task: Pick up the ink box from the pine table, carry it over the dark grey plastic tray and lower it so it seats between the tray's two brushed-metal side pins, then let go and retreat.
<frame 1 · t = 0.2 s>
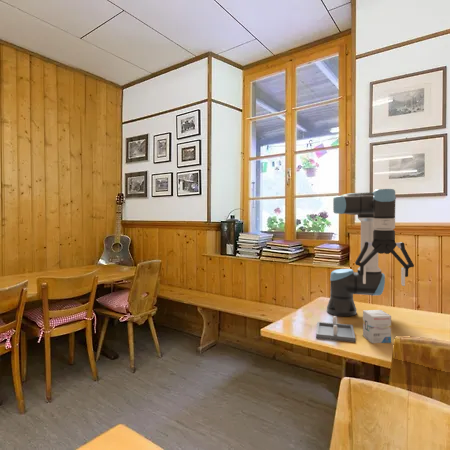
hand: (383, 284, 124), 27 cm above the table, fingers open, 13 cm apart
ink box: (376, 339, 139), on the table
tray: (335, 333, 146), on the table
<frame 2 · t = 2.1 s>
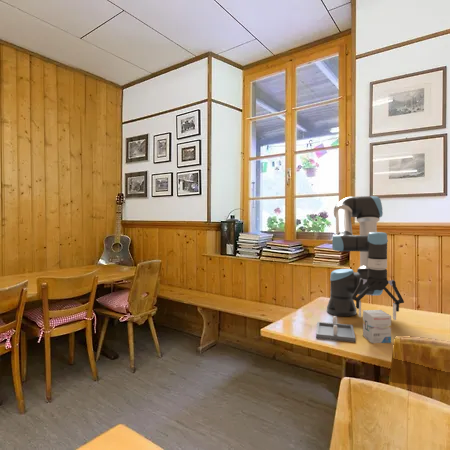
hand: (376, 317, 138), 10 cm above the table, fingers open, 13 cm apart
nothing on the table moved.
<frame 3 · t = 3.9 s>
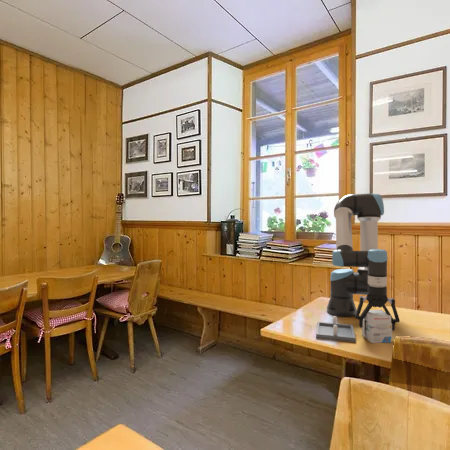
hand: (376, 336, 139), 1 cm above the table, fingers closed on ink box, 10 cm apart
ink box: (376, 339, 139), on the table, touching gripper
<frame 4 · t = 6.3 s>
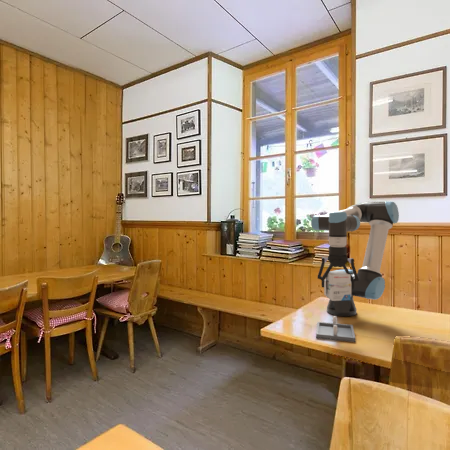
hand: (337, 295, 145), 18 cm above the table, fingers closed on ink box, 10 cm apart
ink box: (337, 298, 145), point 16 cm above the table, touching gripper
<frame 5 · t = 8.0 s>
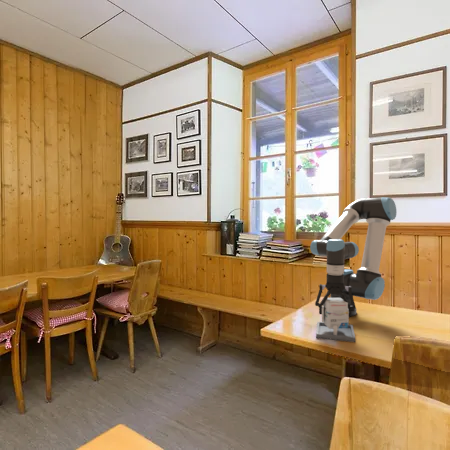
hand: (334, 322, 146), 5 cm above the table, fingers closed on ink box, 10 cm apart
ink box: (334, 325, 146), point 4 cm above the table, touching gripper
when the fingers open (4 cm above the table, at t = 9.1 s): ink box drops 2 cm, resting on tray.
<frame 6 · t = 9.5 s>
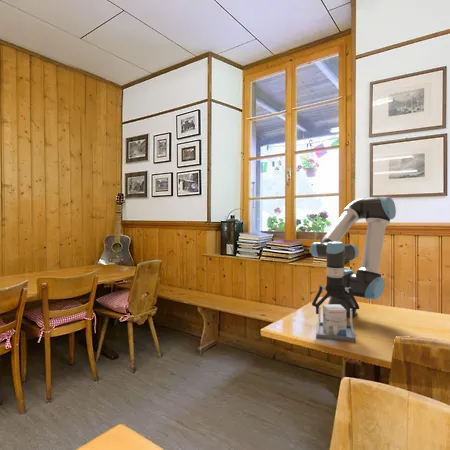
hand: (335, 322, 146), 5 cm above the table, fingers open, 13 cm apart
ink box: (334, 332, 146), resting on tray
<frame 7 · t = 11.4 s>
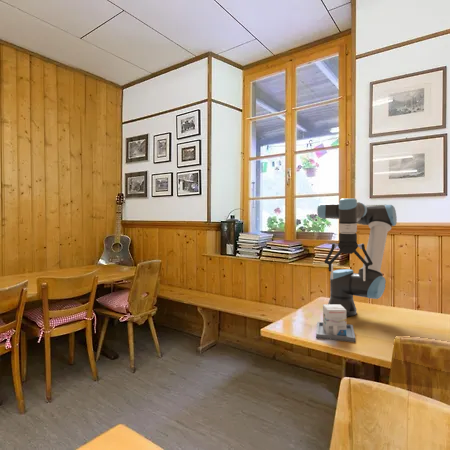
hand: (347, 279, 146), 24 cm above the table, fingers open, 13 cm apart
nothing on the table moved.
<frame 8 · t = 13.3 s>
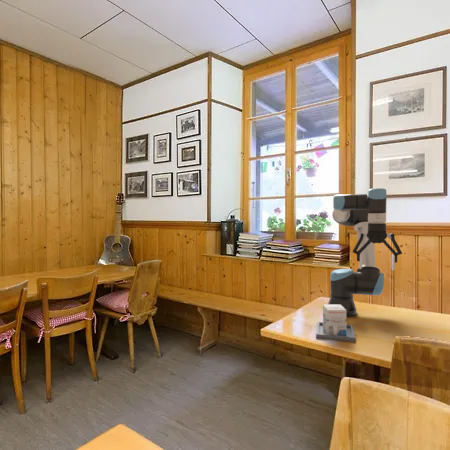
hand: (376, 269, 147), 29 cm above the table, fingers open, 13 cm apart
nothing on the table moved.
at the end: ink box 0.4 cm off-centre on the tray, point 0.4 cm above the tray's base; ink box tilted 0°; the gripper is holding nothing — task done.
